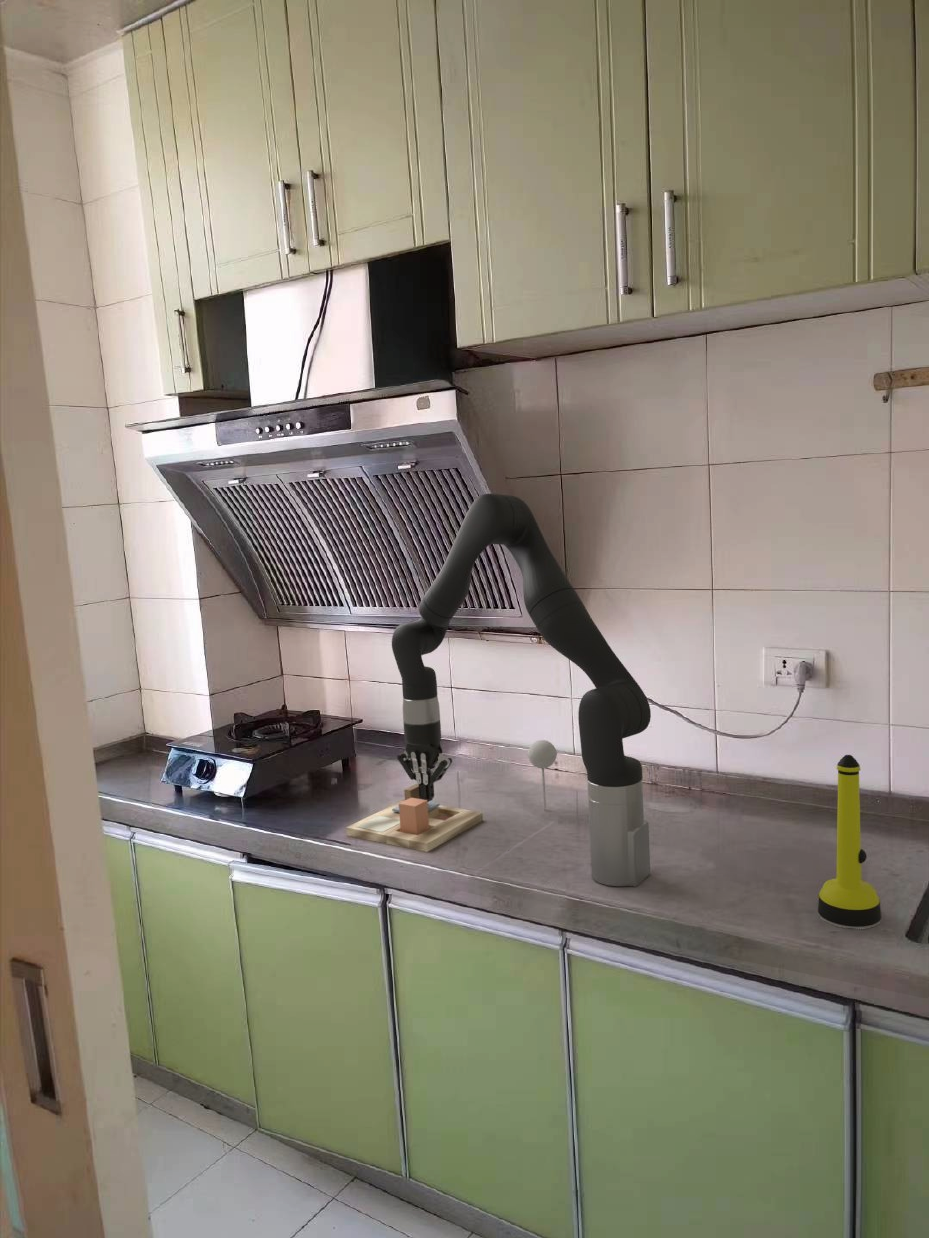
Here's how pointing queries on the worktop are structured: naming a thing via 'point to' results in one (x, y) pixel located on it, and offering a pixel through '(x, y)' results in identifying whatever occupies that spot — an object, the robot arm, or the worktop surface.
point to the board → (387, 830)
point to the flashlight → (849, 861)
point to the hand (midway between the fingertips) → (427, 800)
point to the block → (414, 816)
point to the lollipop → (542, 758)
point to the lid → (414, 793)
